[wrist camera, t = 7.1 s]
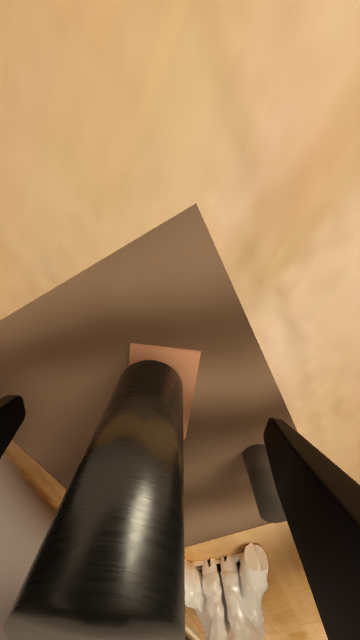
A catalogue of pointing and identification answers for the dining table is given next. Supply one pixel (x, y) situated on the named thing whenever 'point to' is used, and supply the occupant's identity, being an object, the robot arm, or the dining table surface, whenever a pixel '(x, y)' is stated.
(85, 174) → the dining table surface
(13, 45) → the dining table surface
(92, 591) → the lever
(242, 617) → the sitting furry creature
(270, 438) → the robot arm
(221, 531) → the board
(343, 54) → the dining table surface
